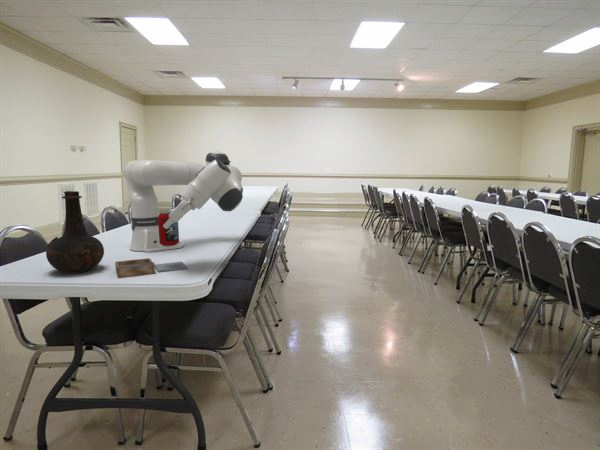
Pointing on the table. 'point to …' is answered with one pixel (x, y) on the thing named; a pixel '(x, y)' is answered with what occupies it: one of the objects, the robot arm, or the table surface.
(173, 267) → the rubber mat
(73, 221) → the glass bottle
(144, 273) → the can cradle
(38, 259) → the table surface
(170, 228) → the beverage can
